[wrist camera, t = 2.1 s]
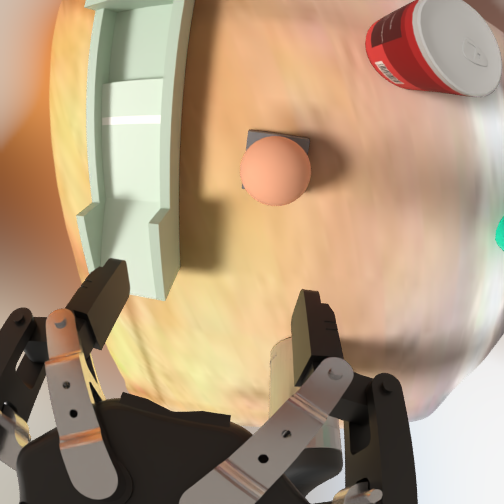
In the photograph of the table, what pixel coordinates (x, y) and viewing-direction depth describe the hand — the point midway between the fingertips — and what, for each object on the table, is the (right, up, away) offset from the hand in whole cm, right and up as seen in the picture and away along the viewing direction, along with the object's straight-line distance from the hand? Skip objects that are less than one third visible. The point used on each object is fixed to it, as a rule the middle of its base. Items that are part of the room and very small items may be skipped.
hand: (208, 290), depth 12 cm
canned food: (+16, +21, +6) cm, 27 cm away
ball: (+4, +8, +11) cm, 14 cm away
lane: (-10, +13, +13) cm, 21 cm away
